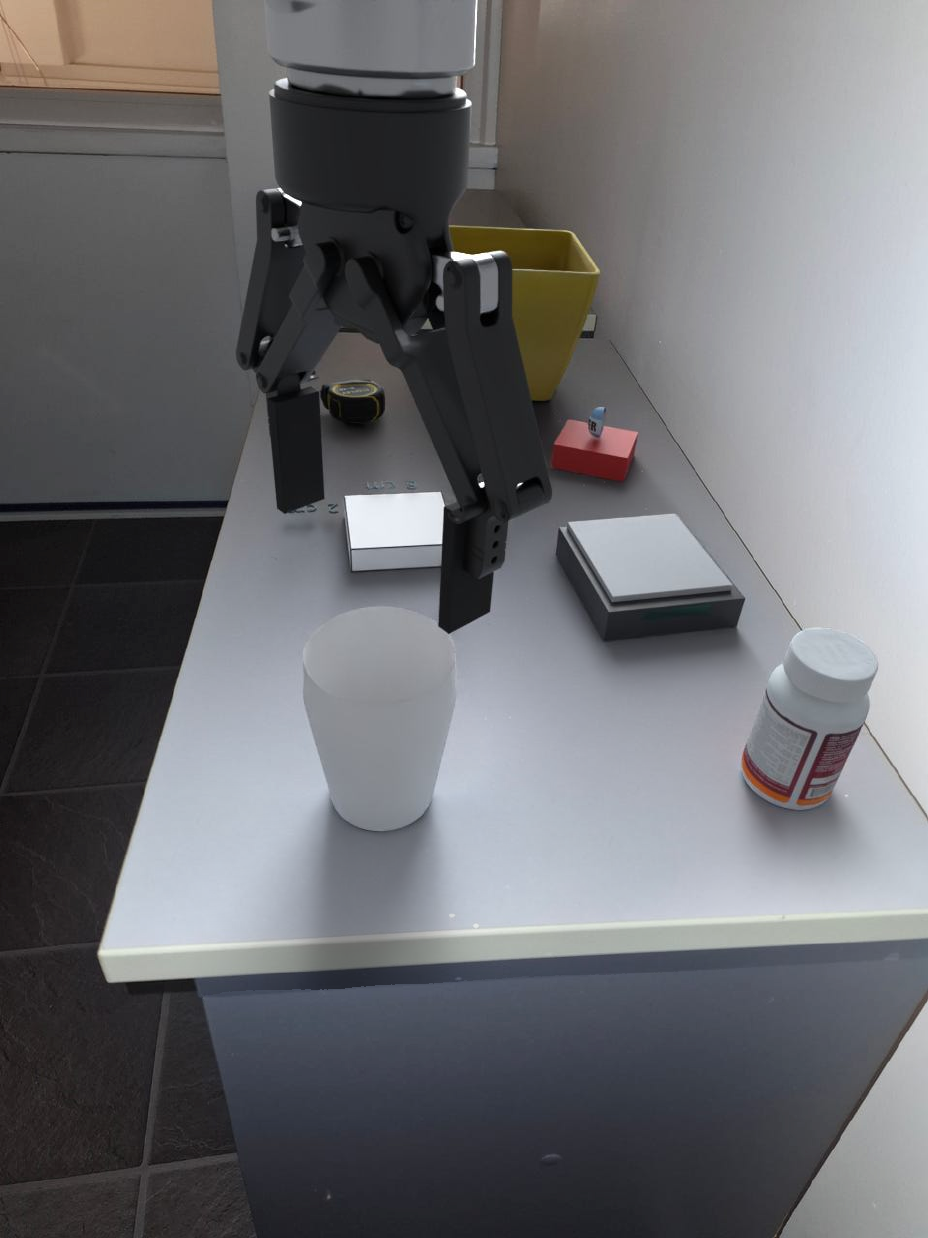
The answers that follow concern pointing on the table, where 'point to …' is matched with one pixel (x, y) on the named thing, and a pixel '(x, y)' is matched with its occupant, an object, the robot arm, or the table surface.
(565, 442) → the red rectangular block
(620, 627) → the scale
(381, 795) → the cup
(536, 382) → the flower pot
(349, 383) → the tape measure
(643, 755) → the table surface
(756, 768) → the pill bottle
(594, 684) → the table surface
